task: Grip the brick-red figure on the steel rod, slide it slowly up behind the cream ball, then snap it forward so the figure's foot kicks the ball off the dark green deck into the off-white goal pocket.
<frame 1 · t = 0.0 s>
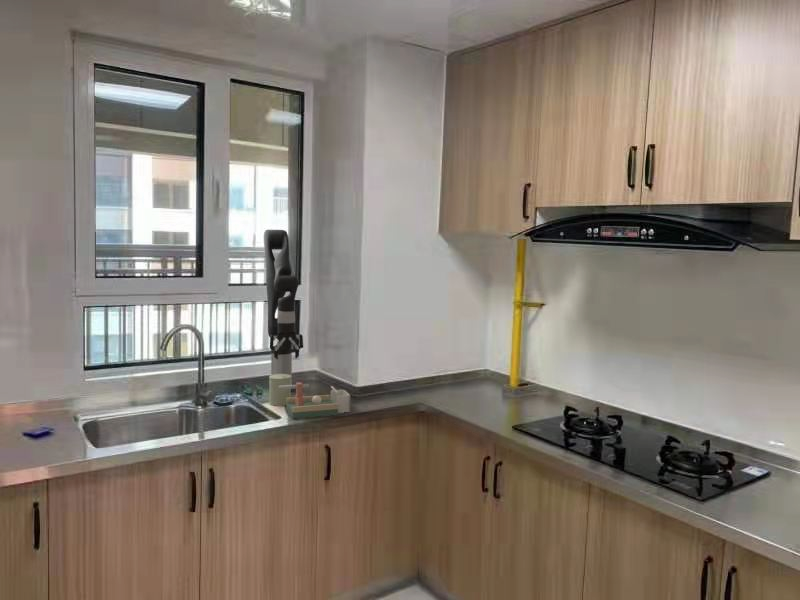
hand: (286, 358, 267), 17 cm above the worktop, tool pointing down, fingers open, 8 cm apart
kicker: (294, 394, 244), point 7 cm above the worktop, slide at 0.0 cm
can: (280, 403, 259), on the worktop
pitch: (311, 411, 247), on the worktop
ball: (316, 400, 247), point 4 cm above the worktop, touching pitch
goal: (339, 409, 251), on the worktop
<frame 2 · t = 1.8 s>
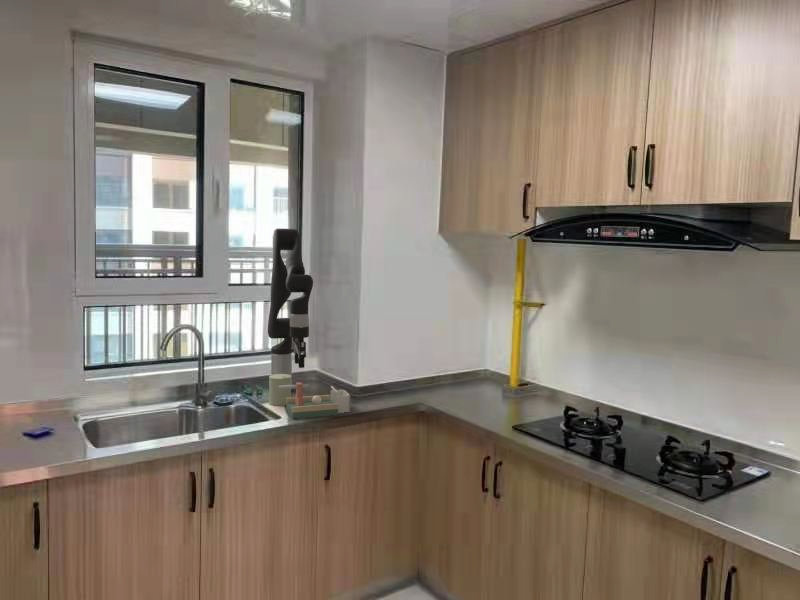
hand: (299, 365, 243), 19 cm above the worktop, tool pointing down, fingers open, 8 cm apart
nothing on the worktop moved.
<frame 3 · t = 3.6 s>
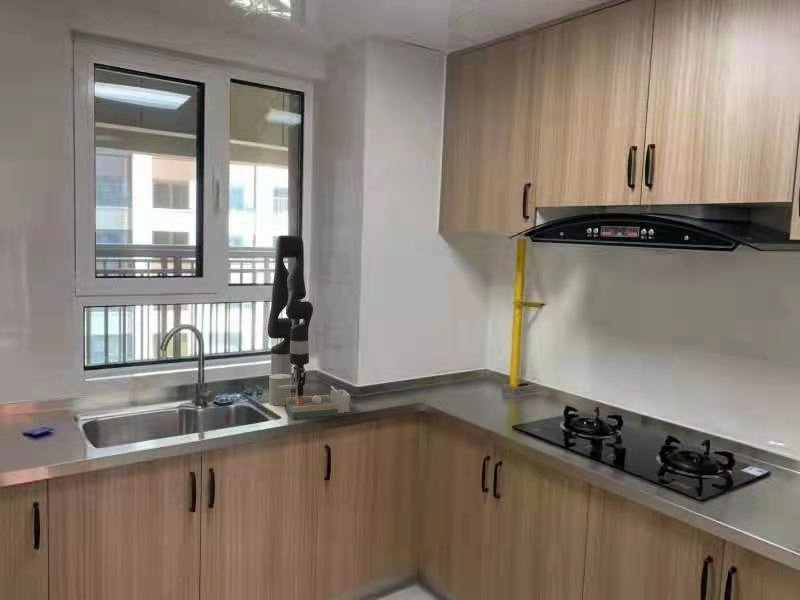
hand: (299, 394, 244), 8 cm above the worktop, tool pointing down, fingers closed on kicker, 3 cm apart
kicker: (294, 394, 244), point 7 cm above the worktop, slide at 0.0 cm, touching gripper
everything else where it was.
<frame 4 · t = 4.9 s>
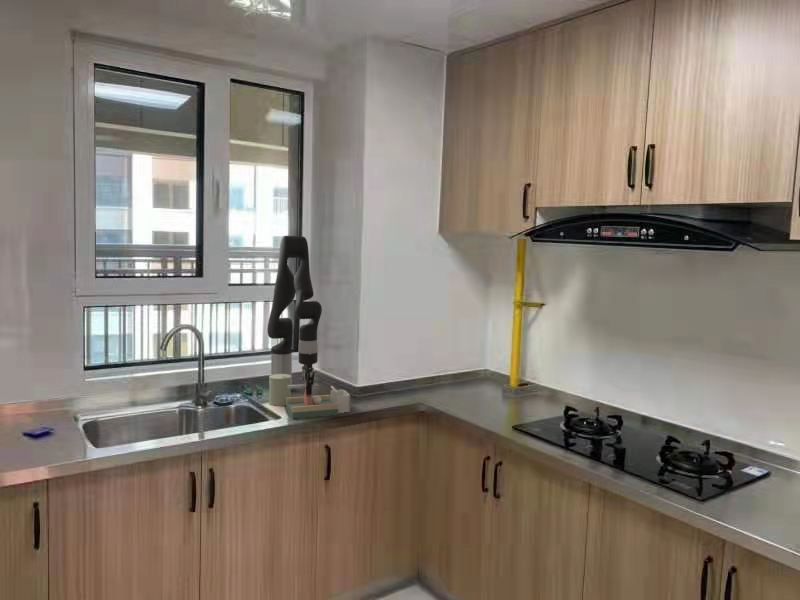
hand: (307, 393, 245), 8 cm above the worktop, tool pointing down, fingers closed on kicker, 3 cm apart
kicker: (303, 394, 245), point 7 cm above the worktop, slide at 3.5 cm, touching gripper
everything else where it was.
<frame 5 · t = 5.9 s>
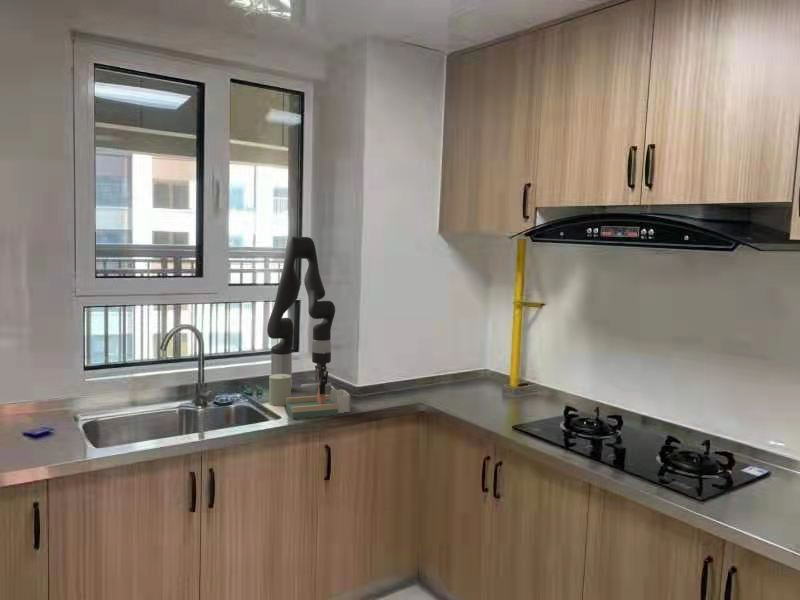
hand: (321, 392, 247), 8 cm above the worktop, tool pointing down, fingers closed on kicker, 3 cm apart
kicker: (316, 393, 247), point 7 cm above the worktop, slide at 8.9 cm, touching gripper
ball: (340, 404, 251), point 2 cm above the worktop
everything else where it was.
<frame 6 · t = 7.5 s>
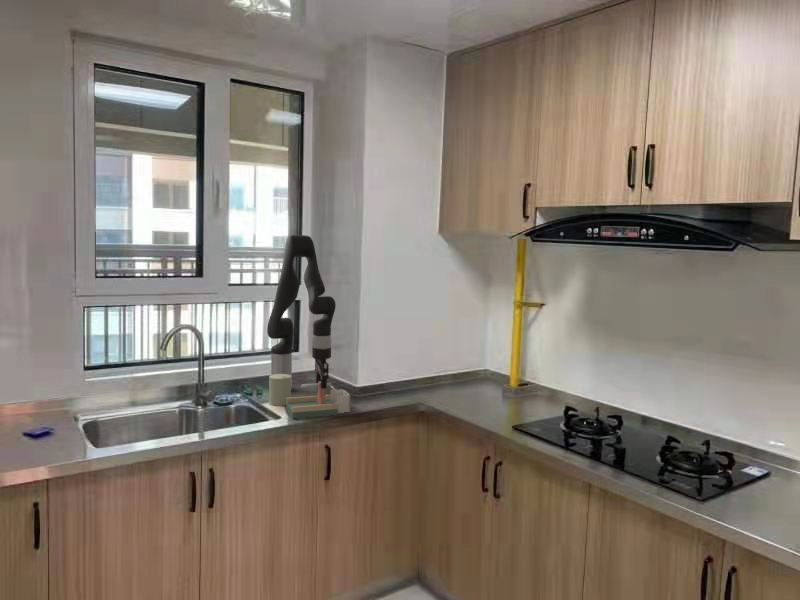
hand: (321, 385, 247), 10 cm above the worktop, tool pointing down, fingers open, 8 cm apart
kicker: (316, 393, 247), point 7 cm above the worktop, slide at 8.9 cm
ball: (339, 404, 250), point 2 cm above the worktop, tilted 11°
everything else where it was.
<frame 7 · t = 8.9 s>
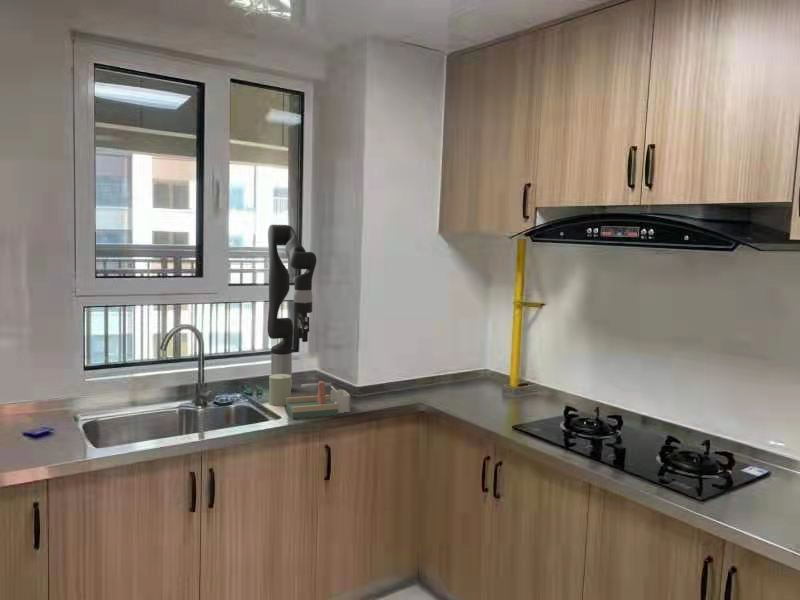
hand: (302, 340, 252), 28 cm above the worktop, tool pointing down, fingers open, 8 cm apart
ball: (338, 404, 250), point 2 cm above the worktop, tilted 21°
everything else where it was.
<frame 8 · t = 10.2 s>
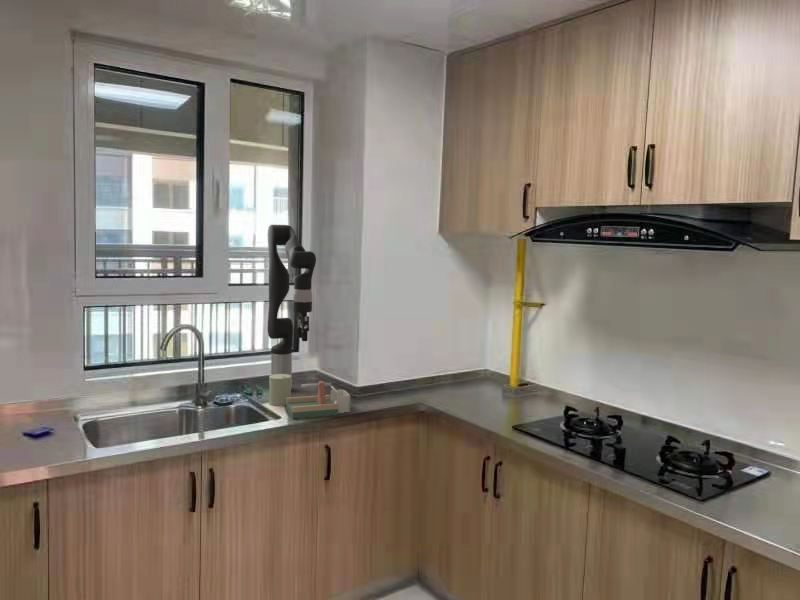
hand: (302, 339, 252), 28 cm above the worktop, tool pointing down, fingers open, 8 cm apart
ball: (338, 404, 250), point 2 cm above the worktop, tilted 27°
everything else where it was.
at the end: ball inside the target area (1.0 cm from its centre), point 2.0 cm above the worktop; kicker slide at 8.9 cm; the gripper is holding nothing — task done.
